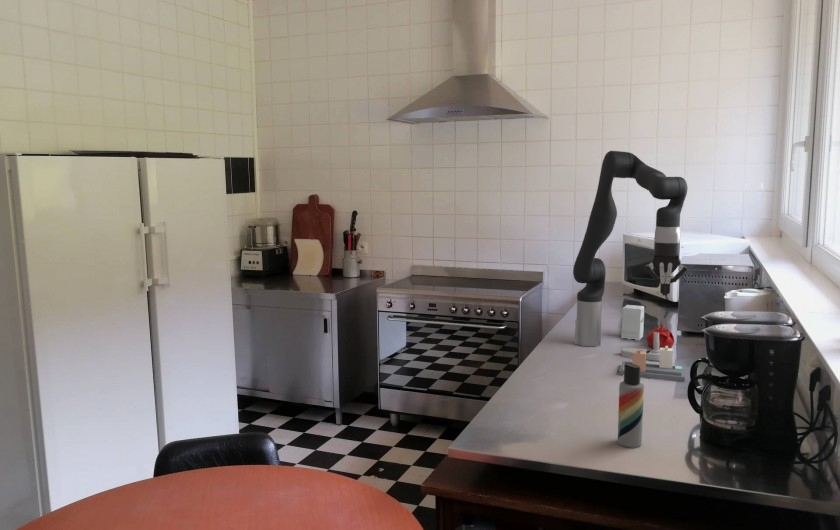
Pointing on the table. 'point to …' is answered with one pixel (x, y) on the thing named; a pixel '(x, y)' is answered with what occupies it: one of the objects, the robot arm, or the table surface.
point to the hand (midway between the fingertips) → (664, 295)
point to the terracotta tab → (639, 359)
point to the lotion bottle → (630, 408)
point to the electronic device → (650, 354)
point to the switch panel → (659, 372)
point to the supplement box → (632, 322)
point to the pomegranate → (661, 337)
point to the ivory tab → (666, 357)
